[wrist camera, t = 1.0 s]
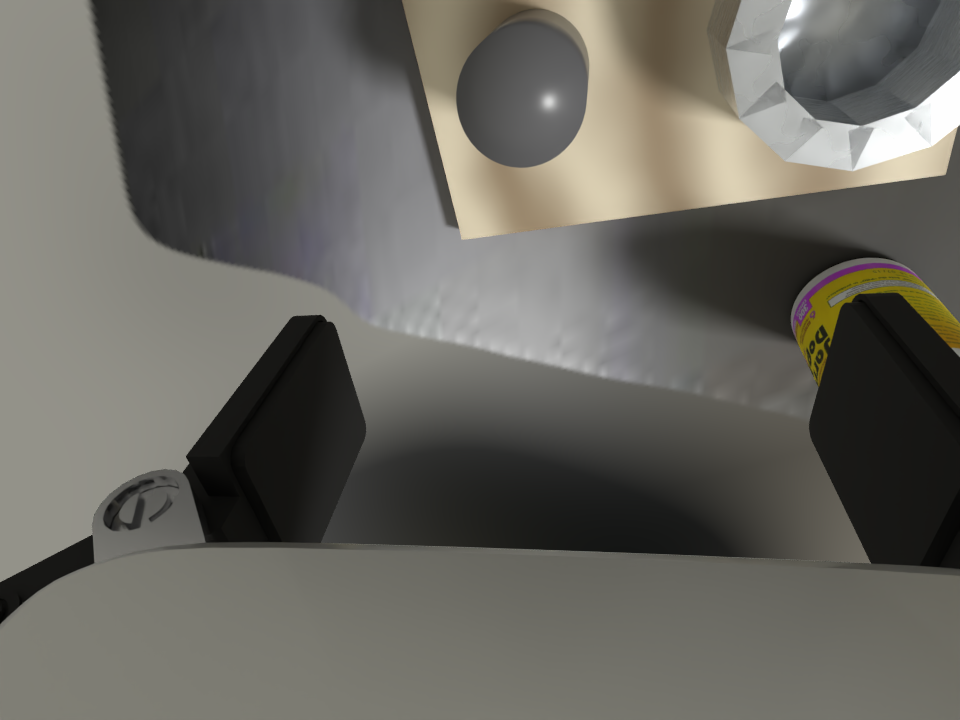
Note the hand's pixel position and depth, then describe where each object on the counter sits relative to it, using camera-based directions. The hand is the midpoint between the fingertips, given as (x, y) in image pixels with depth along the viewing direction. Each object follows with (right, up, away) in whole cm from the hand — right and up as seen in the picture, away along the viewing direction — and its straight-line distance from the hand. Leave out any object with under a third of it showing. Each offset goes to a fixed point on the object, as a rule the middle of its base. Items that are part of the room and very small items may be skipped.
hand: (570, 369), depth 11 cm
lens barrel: (+13, +15, +13) cm, 24 cm away
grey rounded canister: (+1, +14, +16) cm, 22 cm away
